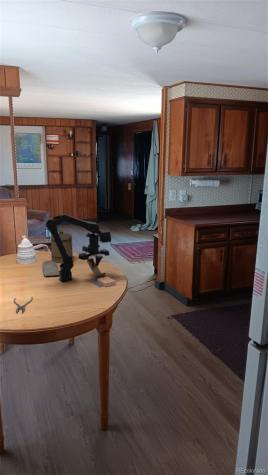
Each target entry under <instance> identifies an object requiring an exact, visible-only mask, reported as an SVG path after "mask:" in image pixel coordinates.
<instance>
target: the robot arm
mask: <svg viewBox="0 0 268 475" xmlns="http://www.w3.org/2000/svg"><path fill="white" fill-rule="evenodd" d="M64 222H66V223H69V224H72V225H74V226H75V225H76V226H78V227H80V228H82V229H85V230H86V231H88V232H87V233H86V234H85V236H86V238H88V245H87V246H86V245H83V246H81V248H82V253H79V254H78V256H77V257H78V259H79V260H81V261H87V260H88V261H89V263H90V265H91V268H92V269H93V266H94V262H95V264H96V265H97V267H98V268H99V264H100V263H101V261H102V259H104V257H103V255H104V256H105V257H107V256H110V251H109V250H107V249H104V248H103V249H100V242H101V244H104V243H111V242H112V236H111V232H110V231H109V230H106V231H101V230H100V227H99V225H98V224H97V223H96V222H94V221H89V220H88V221H85V220H84V219H83V220H82V219H80V218H77V217H74V216H71V215H69V214H66V213H61V214H58V215H56V216H53V217H47V218H46V219H45V222H44V224H45V227H46V229H47V230H48V231H49V233H50V234H51V235H52V236H53V238H54V240H55V242H56V245H57V247H58V249H59V251H60V254H61V257H62V263H59V266H58V268H59V276H58V277H59V278H58V281H59V282H61V283H66V282H67V283H68V282H71V281H73V279H72V278H73V272H72V269H73V268H74V266H75V265H74V263H75V261H74V259H72V256H71V254H69V255H68V254H67V252H66V250H65V248H64V245H63V243H62V241H61V238H60V236H59V234H58V233H59V230H58V226H59V225H61V224H62V223H64ZM99 249H100V250H99ZM93 257H95V258H93ZM94 260H95V261H94ZM91 268H90V269H91Z"/></svg>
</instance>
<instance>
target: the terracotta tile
mask: <svg viewBox="0 0 268 475" xmlns="http://www.w3.org/2000/svg"><path fill="white" fill-rule="evenodd" d="M97 282H98V283H99V284H101V285H103V286H104V288H106V287H111V286H115V285H116V280H115V279H112V278H111V277H109V276H105V277H103V278H99V279H97Z"/></svg>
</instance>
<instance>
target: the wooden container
mask: <svg viewBox="0 0 268 475" xmlns="http://www.w3.org/2000/svg"><path fill="white" fill-rule="evenodd" d="M58 234H59V236H60V238H61V241H62V243H63V245H64V248H65V250H66V252H67V254H68V255H69V254H71V256H72V259H73V258H74V257H73V240H72V239H73V235H72V234H71V233H67V232H64V230H63V229H59V230H58ZM50 248H51V249H50V251H51V253H50V254H51V261H54V262H56V264H61V263H62V257H61V254H60V251H59V249H58V247H57V245H56V242H55V240H54V238H53V236H52V234H51V235H50ZM73 260H74V259H73Z"/></svg>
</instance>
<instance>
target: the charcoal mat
mask: <svg viewBox="0 0 268 475" xmlns="http://www.w3.org/2000/svg"><path fill="white" fill-rule="evenodd" d="M90 283H91V284H93V285H95V286H96V287H98V288H103V287H104V288H105V286H103V285H101V284H99V283H98V282H97V280H96V281H95V280H92V281H90Z"/></svg>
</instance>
